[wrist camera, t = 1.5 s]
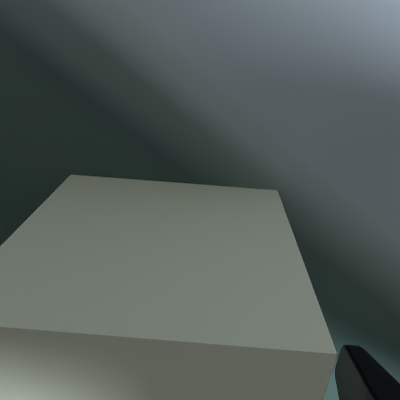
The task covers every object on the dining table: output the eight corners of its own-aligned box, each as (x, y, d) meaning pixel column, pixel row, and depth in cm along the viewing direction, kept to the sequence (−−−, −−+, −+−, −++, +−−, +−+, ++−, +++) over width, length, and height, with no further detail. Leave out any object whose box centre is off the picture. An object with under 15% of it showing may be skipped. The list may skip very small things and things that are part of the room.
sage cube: (276, 188, 11) (336, 354, 5) (251, 342, 13) (275, 559, 8) (72, 173, 11) (-74, 321, 5) (85, 328, 13) (-5, 534, 8)
